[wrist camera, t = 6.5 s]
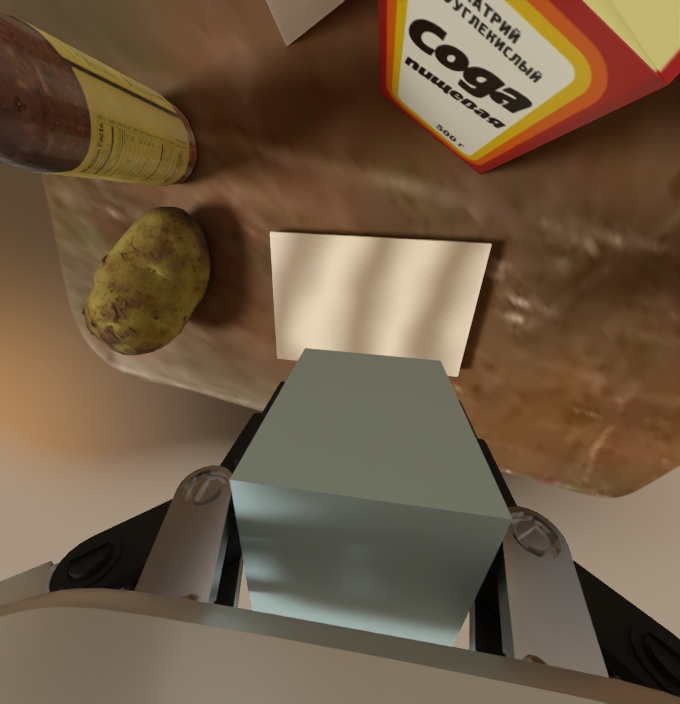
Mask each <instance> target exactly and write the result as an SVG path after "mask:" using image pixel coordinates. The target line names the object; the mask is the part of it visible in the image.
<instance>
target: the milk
mask: <svg viewBox="0 0 680 704" xmlns="http://www.w3.org/2000/svg"><path fill="white" fill-rule="evenodd" d="M344 1H345V0H266V2H267V5H268V7H269V9H270V11H271V13H272V16H273V18H274V20H275V22H276V24H277V26H278V29H279V31H280V33H281V35H282V37H283V40H284V42H285V44H286V46H288V45H290V44H291V43H292V42H293V41H295V40H296V39H297V38H298V37H300V36H301V35H302V34H304V33H305V32H306V31H307V30H309V29H310V28H311V27H312V26H314V25H315V24H316V23H317V22H319V21H320V20H321V19H322V18H324V17H325V16H326V15H327V14H329V13H330V12H331V11H333V10H334V9H335V8H336V7H338V6H339V5H340V4H341V3H343V2H344Z"/></svg>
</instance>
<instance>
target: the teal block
mask: <svg viewBox="0 0 680 704" xmlns="http://www.w3.org/2000/svg"><path fill="white" fill-rule="evenodd" d="M230 486H231V491H232V497H233V503H234V509H235V515H236V521H237V526H238V532H239V538H240V544H241V550H242V556H243V561H244V566H245V573H246V579H247V585H248V591H249V596H250V602H251V608H252V611H257V612H263V613H269V614H275V615H280V616H286V617H292V618H297V619H303V620H308V621H314V622H319V623H325V624H330V625H336V626H341V627H347V628H352V629H358V630H363V631H369V632H374V633H380V634H385V635H391V636H396V637H402V638H407V639H413V640H418V641H424V642H429V643H434V644H440V645H445V646H450V647H452V646H453V644H454V642H455V640H456V638H457V635H458V633H459V631H460V629H461V627H462V625H463V623H464V621H465V618H466V617H467V614H468V612H469V610H470V608H471V606H472V604H473V602H474V600H475V598H476V596H477V593H478V591H479V589H480V587H481V585H482V583H483V581H484V579H485V577H486V574H487V572H488V570H489V568H490V566H491V564H492V562H493V560H494V558H495V556H496V553H497V551H498V549H499V547H500V545H501V543H502V541H503V539H504V537H505V534H506V532H507V530H508V528H509V526H510V524H511V522H512V520H513V519H512V517H511V514H510V512H509V510H508V508H507V506H506V503H505V501H504V499H503V497H502V495H501V492H500V490H499V488H498V486H497V484H496V481H495V479H494V477H493V475H492V473H491V470H490V468H489V466H488V464H487V462H486V459H485V457H484V455H483V453H482V451H481V448H480V446H479V444H478V442H477V440H476V437H475V435H474V433H473V431H472V429H471V426H470V424H469V422H468V420H467V418H466V415H465V413H464V411H463V409H462V407H461V404H460V402H459V400H458V398H457V396H456V393H455V391H454V389H453V387H452V385H451V382H450V380H449V378H448V376H447V374H446V371H445V369H444V367H443V365H442V363H441V361H438V360H427V359H417V358H406V357H395V356H385V355H374V354H363V353H353V352H342V351H331V350H321V349H310V348H305V349H304V351H303V353H302V354H301V356H300V358H299V359H298V361H297V363H296V365H295V366H294V368H293V370H292V372H291V373H290V375H289V377H288V379H287V380H286V382H285V384H284V386H283V387H282V389H281V391H280V393H279V394H278V396H277V398H276V400H275V401H274V403H273V405H272V406H271V408H270V410H269V412H268V413H267V415H266V417H265V419H264V420H263V422H262V424H261V426H260V427H259V429H258V431H257V433H256V434H255V436H254V438H253V440H252V441H251V443H250V445H249V447H248V448H247V450H246V452H245V454H244V455H243V457H242V459H241V460H240V462H239V464H238V466H237V467H236V469H235V471H234V473H233V474H232V476H231V478H230Z"/></svg>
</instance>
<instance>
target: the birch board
mask: <svg viewBox="0 0 680 704" xmlns="http://www.w3.org/2000/svg"><path fill="white" fill-rule="evenodd" d="M270 244H271V261H272V278H273V296H274V313H275V330H276V347H277V359H287V360H297V361H298V359H299V358H300V356H301V354H302V353H303V351H304V349H305V348H310V349H321V350H331V351H342V352H353V353H363V354H374V355H385V356H395V357H406V358H417V359H427V360H438V361H441V363H442V365H443V367H444V369H445V371H446V374H447V376H455V377H458V374H459V370H460V366H461V362H462V358H463V354H464V350H465V346H466V343H467V339H468V335H469V331H470V327H471V323H472V319H473V315H474V311H475V308H476V304H477V300H478V296H479V292H480V288H481V284H482V280H483V276H484V273H485V269H486V265H487V261H488V257H489V253H490V249H491V245H492V244H490V243H484V242H465V241H446V240H428V239H409V238H391V237H372V236H353V235H335V234H316V233H298V232H279V231H274V232H270Z"/></svg>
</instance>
